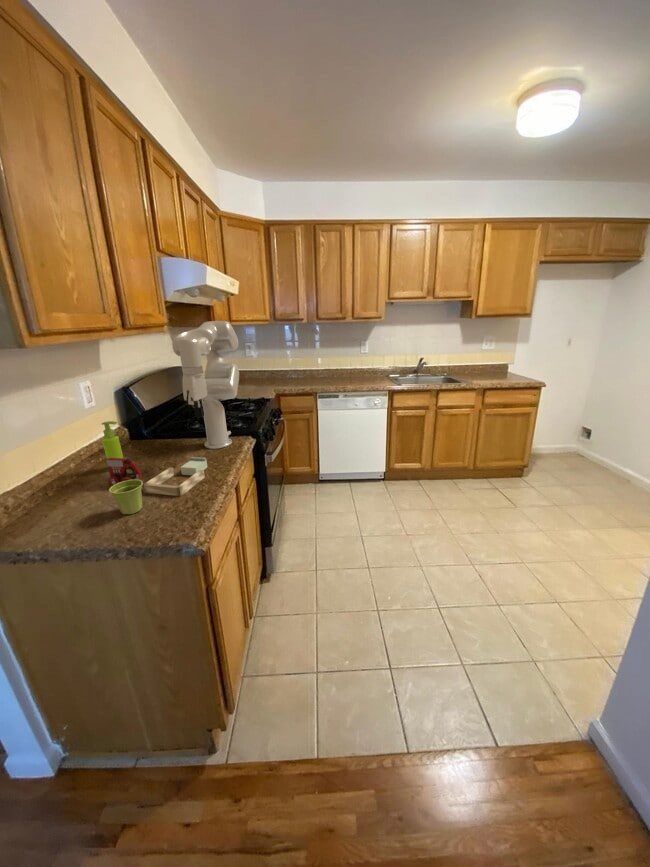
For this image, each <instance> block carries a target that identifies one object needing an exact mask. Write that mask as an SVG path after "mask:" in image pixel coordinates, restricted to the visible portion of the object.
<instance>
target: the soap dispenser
mask: <svg viewBox="0 0 650 867" xmlns="http://www.w3.org/2000/svg"><path fill="white" fill-rule="evenodd" d="M117 424H118V422H117V421H114V420H113V421H112V420H111V421H109V420H108V421H104V422H101V425H102V426H103V425H104V430H103V435H104V438H102V439H101V442H102V447H103V449H104V453H105V458H106V460H107V459H108V458H124V454H123V450H122V447H121V442H120V438H119V436H117V435H115V432H114V429H113V428H111V427H110V426H111V425H117Z"/></svg>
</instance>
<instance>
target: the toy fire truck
mask: <svg viewBox="0 0 650 867" xmlns="http://www.w3.org/2000/svg"><path fill="white" fill-rule="evenodd" d="M105 463H106V466H107V467H108V470H109V472H108V473H109V475H110V478H109V479H108V485H109V486H110V487H112V486H113V485H115V484H117V483H120V482H123V481H127V480H141V481H143V479H144V478H143V477H144V476H143V474H142V470H141V468H140V467H139V466H138V465H137V463H136V462H134V461H133V459H132V458H131V457H126V458H124V457H123V458H108V459H107V458H106V460H105Z"/></svg>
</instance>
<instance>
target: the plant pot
mask: <svg viewBox="0 0 650 867" xmlns="http://www.w3.org/2000/svg"><path fill="white" fill-rule="evenodd" d="M143 484H144V483H143V480H127V481H123V482H120V483H117V484H115V485H113V486H110V487H109V489H108V492H109V493H110V494H111V495H112V497H113V498H114V499H115V502H116V504H117V506H118V509H119V511H120V513H121V514H122V515H132V514H135V513H138V512H140V511H141V509H143V496H142V490H143Z"/></svg>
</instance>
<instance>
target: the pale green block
mask: <svg viewBox="0 0 650 867" xmlns="http://www.w3.org/2000/svg"><path fill="white" fill-rule="evenodd" d="M189 458H190V460H189V461H187V462H186V463H184V464H183V465H181V466H180V470H181V471H180V472H181V475H182V476H193V475H194V474H195V473H197V472H198V471H199V470H204V471H205V470H206V469H207V468H208V463H207V457H199V456H191V457H189Z"/></svg>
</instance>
